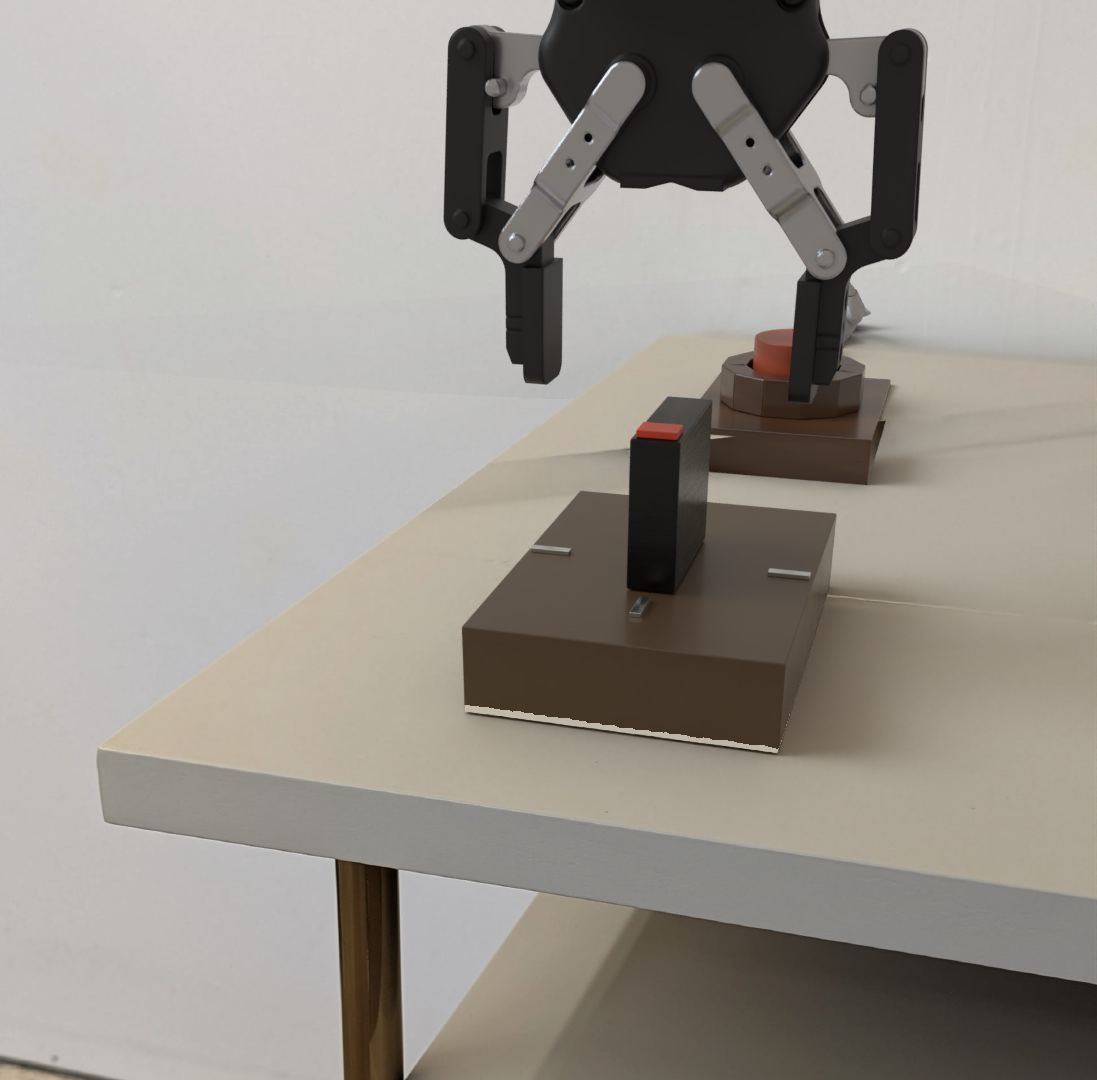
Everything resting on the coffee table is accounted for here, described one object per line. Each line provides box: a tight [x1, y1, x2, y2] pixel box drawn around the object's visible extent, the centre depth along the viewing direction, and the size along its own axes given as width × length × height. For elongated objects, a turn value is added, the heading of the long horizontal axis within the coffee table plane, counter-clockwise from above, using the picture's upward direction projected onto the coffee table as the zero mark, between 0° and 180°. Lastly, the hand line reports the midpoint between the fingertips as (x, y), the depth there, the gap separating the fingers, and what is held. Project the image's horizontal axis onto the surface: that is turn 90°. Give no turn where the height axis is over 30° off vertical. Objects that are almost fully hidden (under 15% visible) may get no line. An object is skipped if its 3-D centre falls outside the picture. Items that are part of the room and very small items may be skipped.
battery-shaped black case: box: [626, 396, 712, 593], centre depth 47 cm, size 6×2×5 cm, turn 164°
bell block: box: [699, 350, 892, 486], centre depth 70 cm, size 12×9×4 cm
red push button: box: [753, 328, 793, 376], centre depth 69 cm, size 4×4×2 cm
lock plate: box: [461, 490, 837, 749], centre depth 48 cm, size 14×10×3 cm
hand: (668, 388), depth 45 cm, fingers open, 8 cm apart
